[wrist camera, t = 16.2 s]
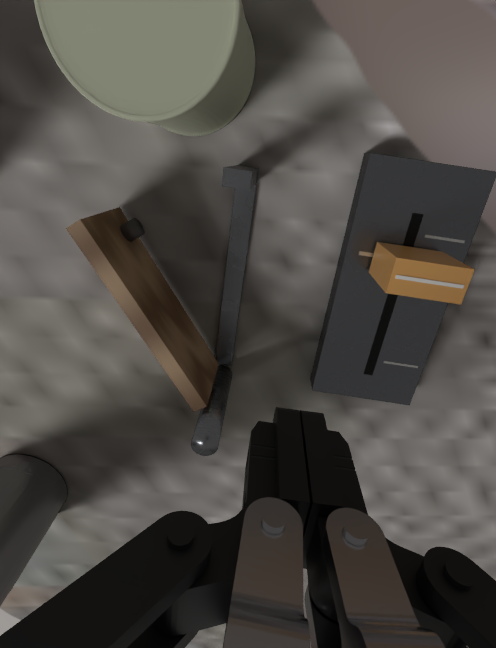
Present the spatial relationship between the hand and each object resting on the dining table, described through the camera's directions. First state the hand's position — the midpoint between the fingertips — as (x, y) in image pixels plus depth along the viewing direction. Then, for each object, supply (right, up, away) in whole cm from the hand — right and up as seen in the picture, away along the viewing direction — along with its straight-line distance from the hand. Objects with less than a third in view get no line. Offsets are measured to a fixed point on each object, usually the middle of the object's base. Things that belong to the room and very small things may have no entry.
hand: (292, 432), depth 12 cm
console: (+10, +7, +20) cm, 24 cm away
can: (-5, +22, +15) cm, 27 cm away
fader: (+11, +8, +17) cm, 21 cm away
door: (-8, +6, +21) cm, 23 cm away
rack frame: (-3, +7, +21) cm, 22 cm away
